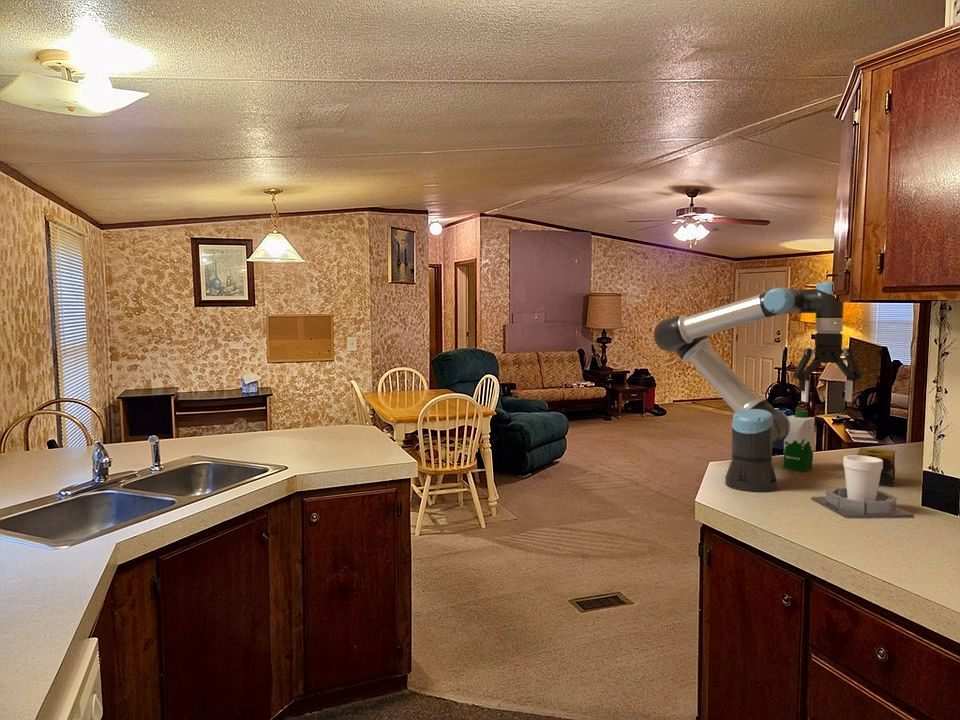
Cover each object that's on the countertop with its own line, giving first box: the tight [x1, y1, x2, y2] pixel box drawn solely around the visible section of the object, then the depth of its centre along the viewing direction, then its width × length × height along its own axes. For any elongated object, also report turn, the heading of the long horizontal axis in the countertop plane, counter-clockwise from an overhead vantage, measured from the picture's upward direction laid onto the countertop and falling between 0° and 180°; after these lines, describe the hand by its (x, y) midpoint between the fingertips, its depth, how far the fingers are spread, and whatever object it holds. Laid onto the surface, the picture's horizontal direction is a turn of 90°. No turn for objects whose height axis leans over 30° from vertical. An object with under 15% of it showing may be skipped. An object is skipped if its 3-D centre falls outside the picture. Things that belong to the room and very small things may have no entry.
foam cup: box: [842, 454, 883, 501], centre depth 188 cm, size 10×9×13 cm
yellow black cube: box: [857, 447, 896, 488], centre depth 217 cm, size 10×10×10 cm
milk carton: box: [782, 409, 816, 473], centre depth 235 cm, size 9×9×20 cm
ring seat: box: [811, 486, 915, 519], centre depth 188 cm, size 18×18×4 cm
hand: (826, 401), depth 209 cm, fingers open, 13 cm apart
